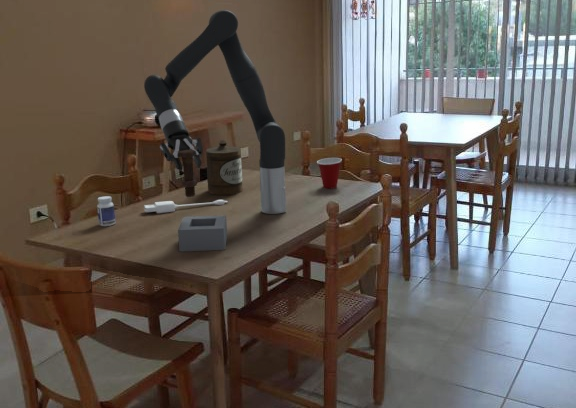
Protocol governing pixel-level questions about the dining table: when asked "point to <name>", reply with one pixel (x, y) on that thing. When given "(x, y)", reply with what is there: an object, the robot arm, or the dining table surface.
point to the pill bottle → (106, 211)
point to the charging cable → (173, 206)
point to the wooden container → (224, 169)
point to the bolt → (188, 172)
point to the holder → (202, 233)
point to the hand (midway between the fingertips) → (190, 167)
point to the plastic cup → (329, 171)
